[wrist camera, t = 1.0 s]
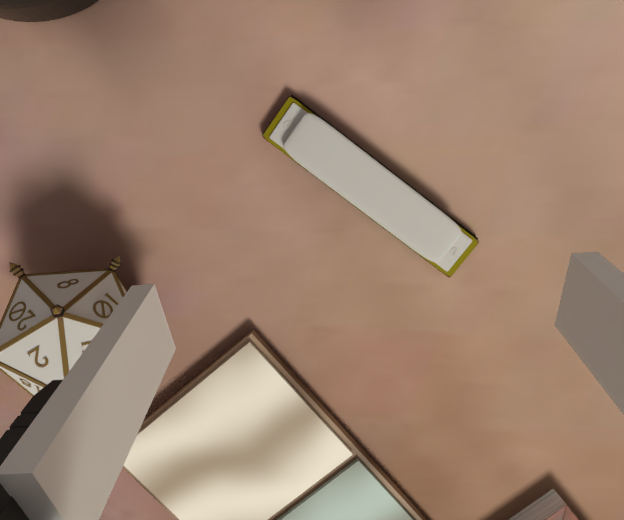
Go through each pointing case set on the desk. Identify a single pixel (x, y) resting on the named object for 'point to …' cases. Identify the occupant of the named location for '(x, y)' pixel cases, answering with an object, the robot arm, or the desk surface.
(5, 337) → the game die
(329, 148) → the harmonica
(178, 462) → the board
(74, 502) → the robot arm
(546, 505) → the picture frame
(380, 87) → the desk surface
